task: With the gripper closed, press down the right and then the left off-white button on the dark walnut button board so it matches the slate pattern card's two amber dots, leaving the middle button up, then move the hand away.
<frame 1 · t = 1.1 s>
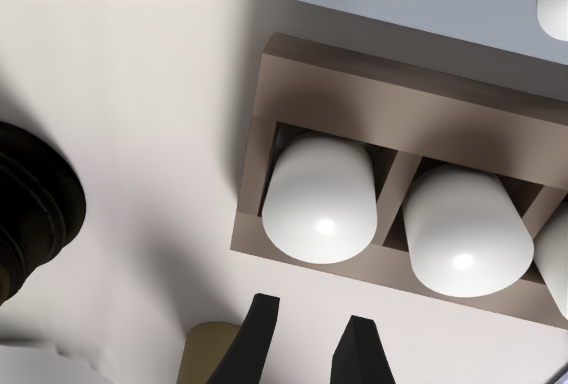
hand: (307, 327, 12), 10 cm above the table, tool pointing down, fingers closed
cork: (226, 346, 31), on the table
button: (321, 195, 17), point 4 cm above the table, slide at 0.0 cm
button board: (444, 180, 20), on the table
container: (17, 184, 25), on the table
middle button: (460, 229, 17), point 4 cm above the table, slide at 0.0 cm
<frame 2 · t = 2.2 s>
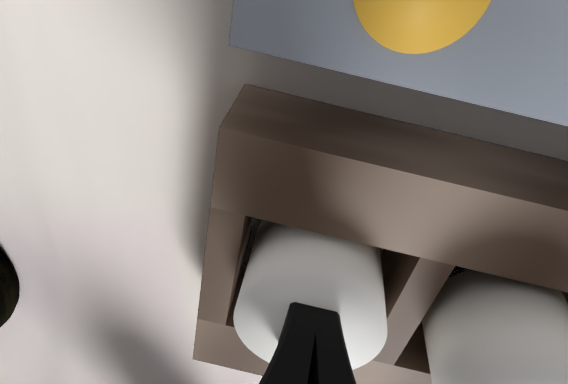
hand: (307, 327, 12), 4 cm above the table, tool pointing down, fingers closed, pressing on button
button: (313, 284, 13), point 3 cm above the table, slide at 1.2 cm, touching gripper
button board: (475, 270, 15), on the table
middle button: (506, 361, 12), point 4 cm above the table, slide at 0.0 cm
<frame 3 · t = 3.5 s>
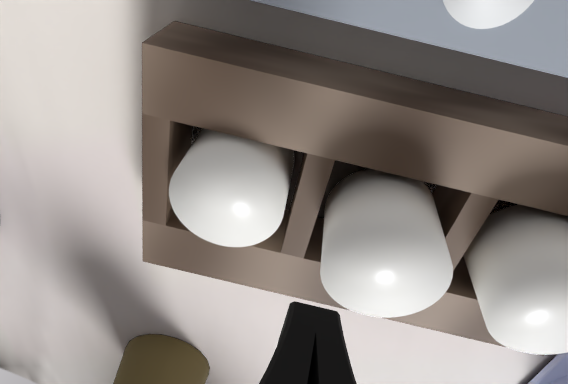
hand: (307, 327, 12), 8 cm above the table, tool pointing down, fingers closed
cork: (168, 359, 29), on the table
button board: (376, 185, 19), on the table
middle button: (381, 241, 16), point 4 cm above the table, slide at 0.0 cm
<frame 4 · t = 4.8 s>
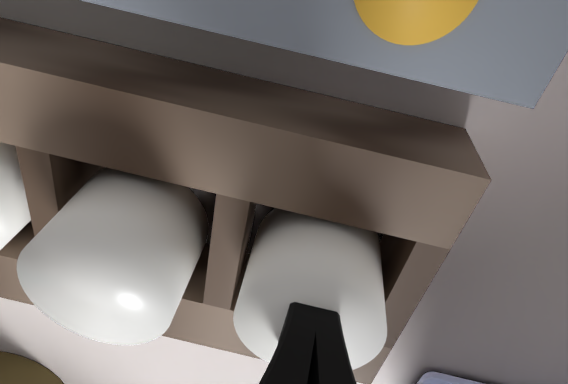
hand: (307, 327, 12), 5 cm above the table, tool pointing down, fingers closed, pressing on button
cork: (23, 377, 27), on the table
button board: (167, 186, 16), on the table
middle button: (123, 252, 13), point 4 cm above the table, slide at 0.0 cm
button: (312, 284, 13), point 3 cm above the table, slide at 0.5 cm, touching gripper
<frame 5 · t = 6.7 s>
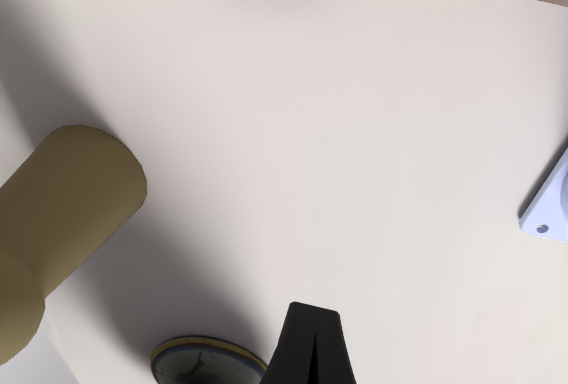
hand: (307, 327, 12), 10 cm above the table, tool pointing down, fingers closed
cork: (96, 173, 23), on the table
apothecary jar: (213, 372, 33), on the table
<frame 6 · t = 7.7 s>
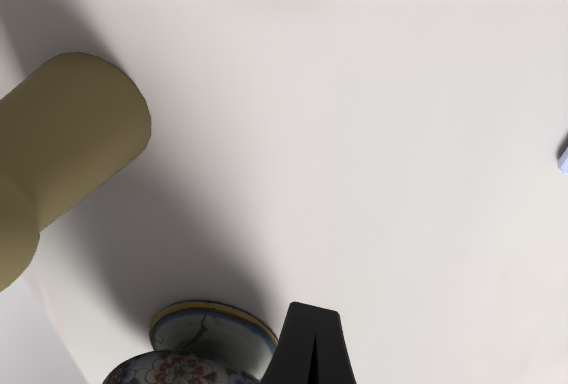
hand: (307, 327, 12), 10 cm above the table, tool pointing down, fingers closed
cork: (95, 111, 21), on the table
apothecary jar: (216, 342, 31), on the table
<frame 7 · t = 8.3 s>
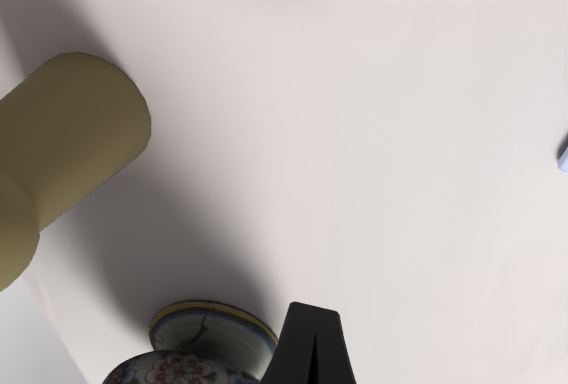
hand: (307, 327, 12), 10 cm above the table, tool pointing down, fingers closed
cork: (95, 111, 21), on the table
apothecary jar: (216, 342, 31), on the table
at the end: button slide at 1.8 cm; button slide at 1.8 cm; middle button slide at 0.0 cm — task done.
